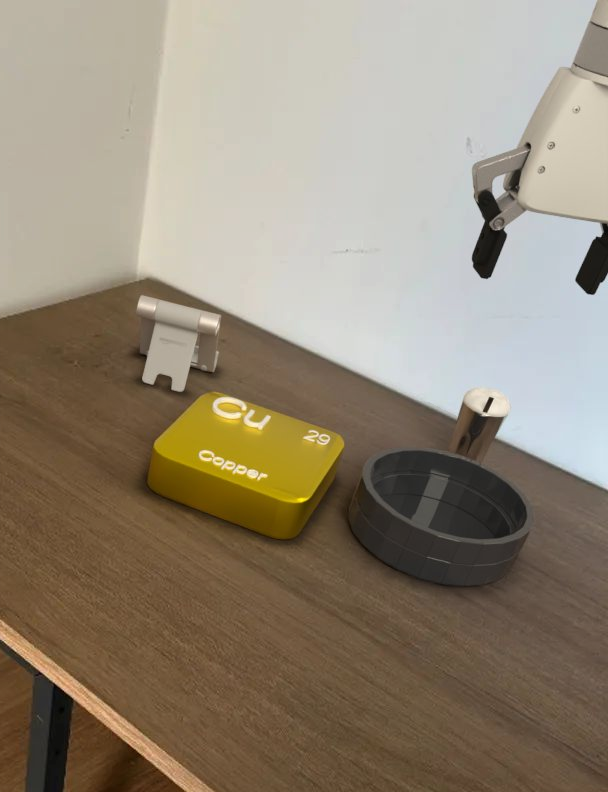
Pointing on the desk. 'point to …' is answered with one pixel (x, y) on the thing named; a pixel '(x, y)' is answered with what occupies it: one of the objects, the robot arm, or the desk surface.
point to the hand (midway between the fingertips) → (532, 280)
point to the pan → (440, 516)
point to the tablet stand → (176, 340)
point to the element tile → (245, 464)
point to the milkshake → (478, 422)
